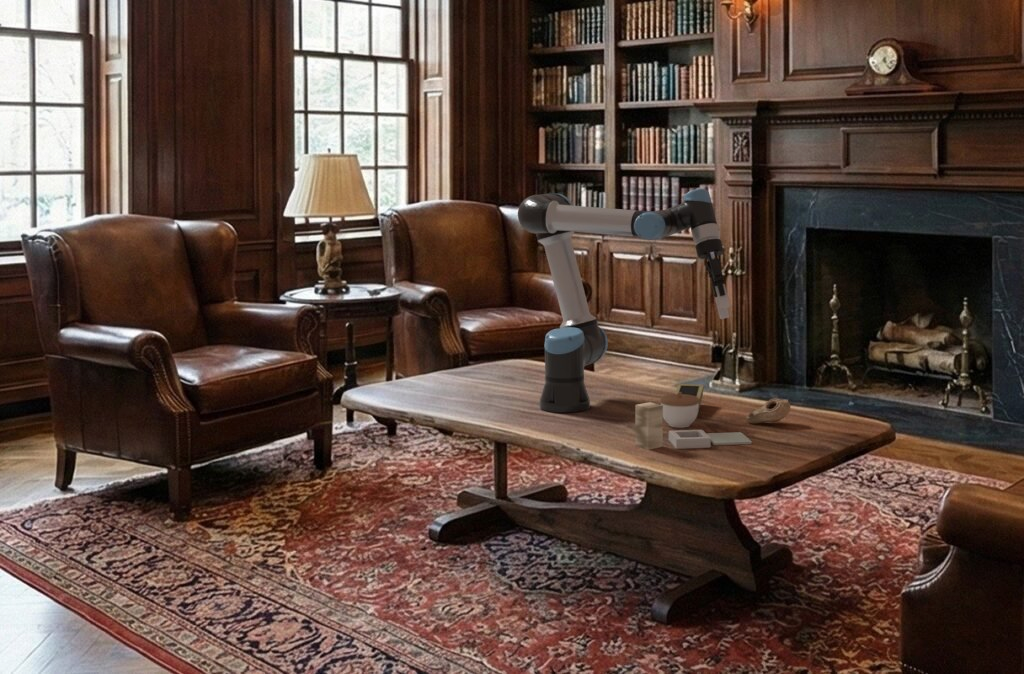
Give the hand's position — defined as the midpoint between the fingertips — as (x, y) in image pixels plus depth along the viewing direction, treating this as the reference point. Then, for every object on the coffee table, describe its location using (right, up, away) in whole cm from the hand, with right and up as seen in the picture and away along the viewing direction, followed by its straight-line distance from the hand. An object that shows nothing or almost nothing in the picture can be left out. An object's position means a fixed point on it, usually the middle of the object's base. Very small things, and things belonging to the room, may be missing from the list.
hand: (725, 313), depth 317 cm
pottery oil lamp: (+12, -31, 0) cm, 33 cm away
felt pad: (-3, -34, -17) cm, 38 cm away
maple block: (-24, -35, -22) cm, 48 cm away
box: (-8, -29, +15) cm, 34 cm away
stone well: (-13, -35, -20) cm, 42 cm away
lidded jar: (-13, -32, 0) cm, 34 cm away
